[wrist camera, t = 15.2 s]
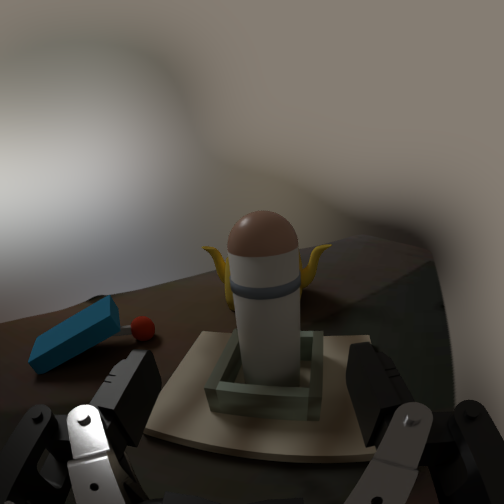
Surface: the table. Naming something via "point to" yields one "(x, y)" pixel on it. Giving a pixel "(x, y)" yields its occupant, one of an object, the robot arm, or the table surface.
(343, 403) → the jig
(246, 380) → the brown-capped white canister
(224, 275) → the teapot
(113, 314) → the lever
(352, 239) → the table surface
